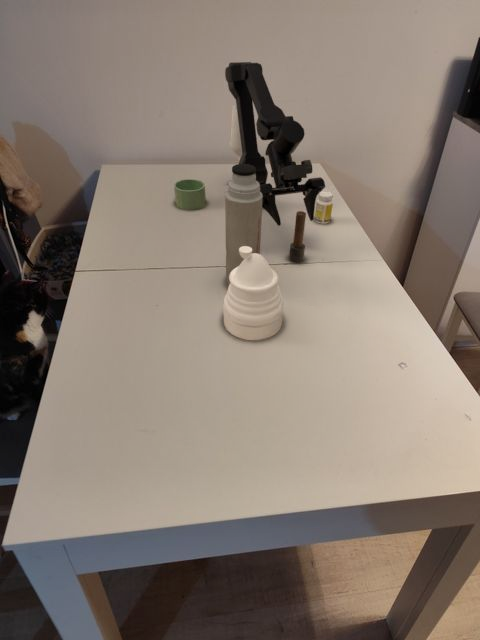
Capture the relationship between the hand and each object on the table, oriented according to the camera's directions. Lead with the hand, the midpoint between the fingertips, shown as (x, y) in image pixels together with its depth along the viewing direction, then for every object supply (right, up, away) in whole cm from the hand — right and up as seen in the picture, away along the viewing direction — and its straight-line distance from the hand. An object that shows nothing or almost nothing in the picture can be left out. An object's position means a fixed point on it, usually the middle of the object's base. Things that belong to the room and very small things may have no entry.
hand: (296, 222), depth 114 cm
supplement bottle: (+10, +7, +23) cm, 26 cm away
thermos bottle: (-14, -16, -4) cm, 22 cm away
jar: (-31, +14, +27) cm, 44 cm away
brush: (0, -8, +5) cm, 10 cm away
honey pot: (-11, -26, -16) cm, 32 cm away
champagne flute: (-16, +25, +41) cm, 50 cm away
